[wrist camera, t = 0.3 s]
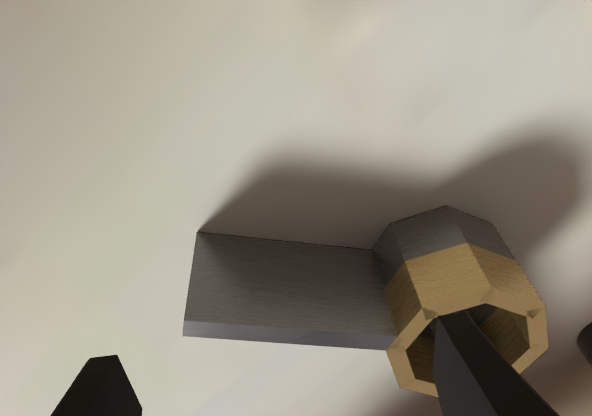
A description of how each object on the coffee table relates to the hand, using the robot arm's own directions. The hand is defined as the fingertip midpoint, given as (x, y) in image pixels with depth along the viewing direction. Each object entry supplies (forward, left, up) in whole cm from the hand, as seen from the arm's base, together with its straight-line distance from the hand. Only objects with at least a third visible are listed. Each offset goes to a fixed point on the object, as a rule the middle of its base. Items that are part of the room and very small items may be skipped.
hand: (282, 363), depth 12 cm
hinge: (-10, -3, -10) cm, 15 cm away
